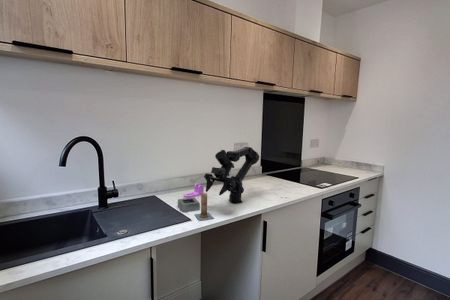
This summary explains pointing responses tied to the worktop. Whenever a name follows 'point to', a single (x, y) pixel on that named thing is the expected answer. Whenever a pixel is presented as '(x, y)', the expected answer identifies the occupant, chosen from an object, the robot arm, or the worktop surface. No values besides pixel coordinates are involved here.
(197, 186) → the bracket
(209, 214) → the rubber mat
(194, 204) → the grey socket block
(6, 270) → the worktop surface
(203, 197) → the walnut peg
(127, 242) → the worktop surface
